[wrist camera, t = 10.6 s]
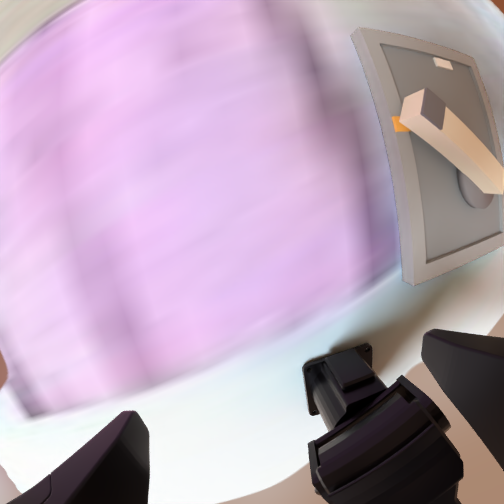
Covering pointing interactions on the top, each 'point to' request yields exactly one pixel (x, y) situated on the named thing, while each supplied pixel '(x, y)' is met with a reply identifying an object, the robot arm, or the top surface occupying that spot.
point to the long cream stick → (455, 146)
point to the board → (431, 152)
